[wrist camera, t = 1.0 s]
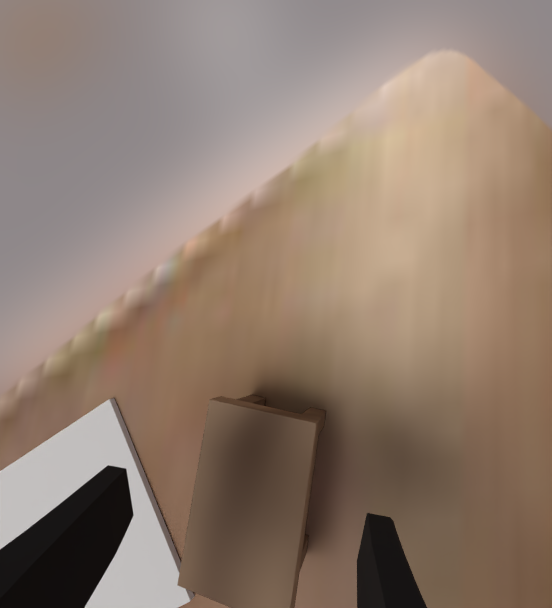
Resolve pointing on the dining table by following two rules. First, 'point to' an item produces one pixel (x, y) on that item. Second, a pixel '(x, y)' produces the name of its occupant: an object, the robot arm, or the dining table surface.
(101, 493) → the robot arm
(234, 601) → the stool
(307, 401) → the dining table surface
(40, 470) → the mat
